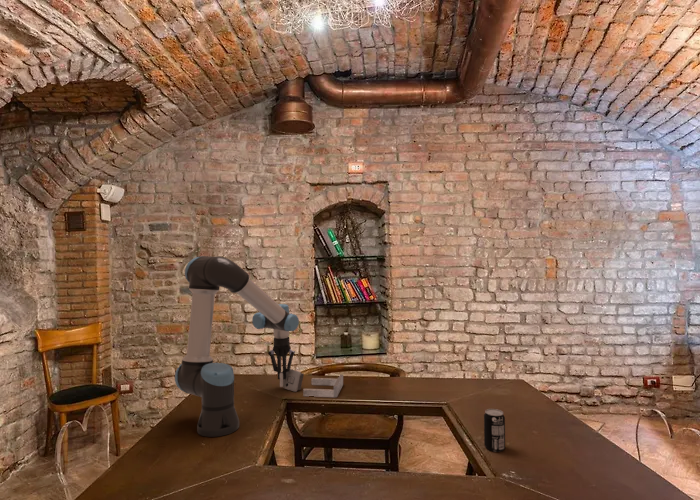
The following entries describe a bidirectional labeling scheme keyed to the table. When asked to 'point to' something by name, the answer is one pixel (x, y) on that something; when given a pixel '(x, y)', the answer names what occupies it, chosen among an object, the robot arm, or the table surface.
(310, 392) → the aluminium bracket
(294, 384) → the electrical switch
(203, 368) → the robot arm
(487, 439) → the beverage can
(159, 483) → the table surface
